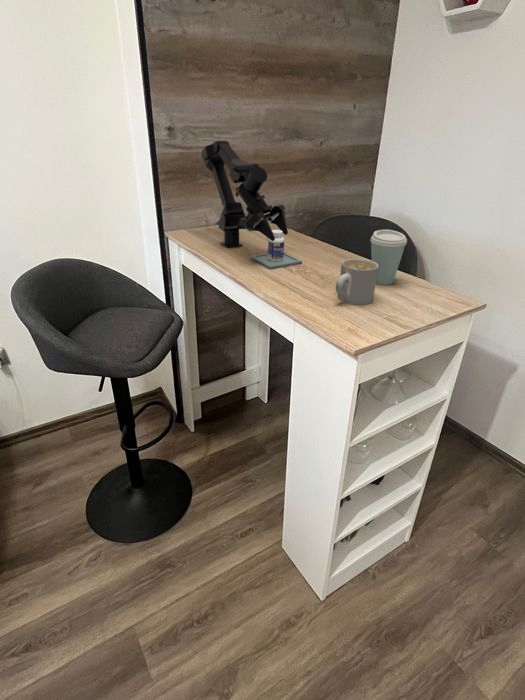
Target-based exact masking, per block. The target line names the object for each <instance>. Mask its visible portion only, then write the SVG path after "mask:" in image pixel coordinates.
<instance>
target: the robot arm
mask: <svg viewBox="0 0 525 700" xmlns="http://www.w3.org/2000/svg"><path fill="white" fill-rule="evenodd" d="M201 159H202V161H203V163H204V165H205V167H206V168H207V169H208V170H209V171H211V172H212V175H213V179H214V183H215V185H216V189H217V191H218V192H217V193H218V194H219V198H220V202H221V204H222V209H221V212H220V216H221V217H220V219H219V220H218V224H217V225H218V229H219V230H221V231H223V241H221V242H220V245H222V246H224V247H226V248H227V249H228V248H230V249H231V248H236V247H243V246H244V245H243V243H241V242H240V230H247V231H249V232H259V233H261V234H262V235H264V236H265V237H266V238H268V240H269V239H270V240H272V241H274V240H275V237H274V235H273V232H272V230H273V229H272V227H271V226H270V224H273V225H276V227H277V228H278V230H281V231H283V234H284V236H287V235H288V233H289V232H288V226H287V221H286V220H287V219H286V214H285V213H286V211H285V210H287V209H286V207H285V206H284V204H281V203H280V204H276V205H274V206H272V205H271V204H270V205H269V204H268V203H267V202H266V200H265V199H266V196H265V195H264V194H263V195H262V194H261V193H260V192H259V191H260V190H261V189H262V187H263V186H264V185H265V183H266V181H267V179H268V174H267V172H266V170H265V169H264V168H263V167H261V166H259V163H252V164H251V163H249V162H248V161H246V160H242V159H241V158H240V157H239V156H238V155H237V153H236V152H235V151H234V150H233V148H232V147H231V145H230V142H229V141H228V140H216V141H213V143H210V144H209V145H206V146H204V148H203V149H202V150H201ZM225 165H226V167H227V168H228V169H229V175H228V174H227V171H226V169H225ZM228 176H229V177H228ZM229 178H230V180H231V181H232V182H233V183H234V184H240V185H239V186H238V187H236V188H235V197H234V194H233V191H232V187H231V185H230V181H229ZM239 196H240V198H241V200H242V201H243V202H244V203H245V205H246V207H245V209H246V212H247V215H246V213H245V210H244V208H243V204H242V203H241V202H240V201H236V200H235V198H238V197H239ZM269 222H270V223H269Z"/></svg>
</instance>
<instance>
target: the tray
mask: <svg viewBox="0 0 525 700" xmlns="http://www.w3.org/2000/svg"><path fill="white" fill-rule="evenodd" d="M250 259H251V260H252V261H254V262H255V263H258V264H260V265H262V266H263V267H265V268H267V269H268V270H275V269H282V268H286V267H292V266H297V264H298V265H302V264H303V260H301V259H299V258H297V257H295V256H293V255H291V254H289V253H287V252H285V251H284V256H283V260H282V261H271V260H269V259H268V252H265V253H259V254H254V255H250ZM291 265H292V266H291Z"/></svg>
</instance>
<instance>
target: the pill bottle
mask: <svg viewBox="0 0 525 700" xmlns="http://www.w3.org/2000/svg"><path fill="white" fill-rule="evenodd" d="M271 230H272V232H273V235H274V237H275V240H274V241H272V240H270V239H269V238H268V243H267V244H268V245H267V253H268V259H269V260H271V261H282V260H283V256H284V252H285V251H284V250H285V238H284V237H283V234H284V233H283V231H281V230H280V229H271Z"/></svg>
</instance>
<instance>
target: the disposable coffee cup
mask: <svg viewBox="0 0 525 700" xmlns="http://www.w3.org/2000/svg"><path fill="white" fill-rule="evenodd" d="M369 241H370V242H371V243H370V244H371V247H370V249H371V250H370V252H371V261H373V262H375V263H377V264H378V266H379V267H378V273H377V279H376V285H377V284H378V285H382V286H387V285H392V284H393V283H394V282H395V281H394V280H395V277H396V276H397V273H398V269H399V266H400V262H401V260H402V257H403V253H404V250H405V247H406V245H407V243H408V239H407V237H406V235H405V234H403V233H402V232H399V231H397V230H392V229H378V230H375V231H374V232H373V234H372V236H371V237H370V240H369Z"/></svg>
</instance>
